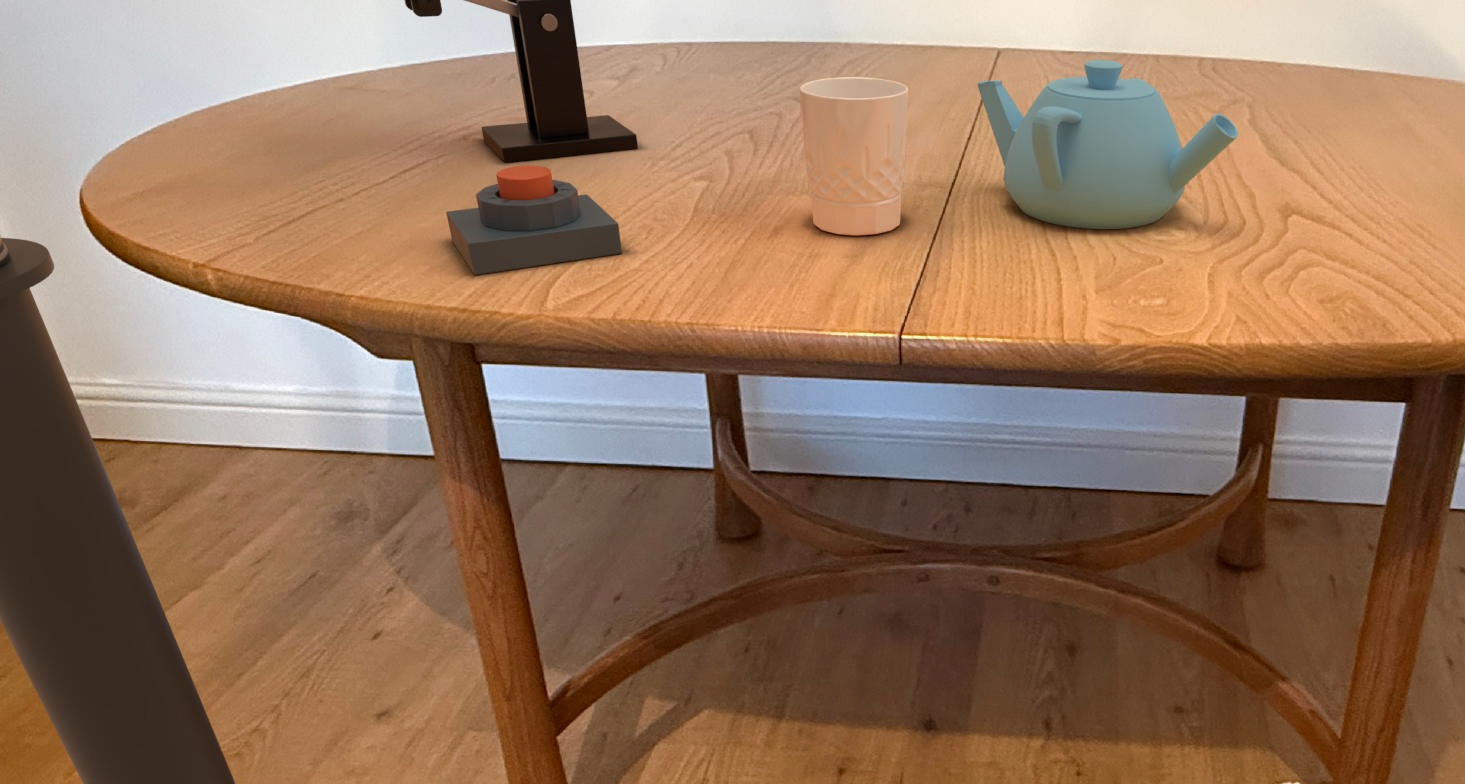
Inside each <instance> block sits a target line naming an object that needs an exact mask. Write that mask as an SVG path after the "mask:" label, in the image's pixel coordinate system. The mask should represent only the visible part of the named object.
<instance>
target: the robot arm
mask: <svg viewBox="0 0 1465 784" xmlns="http://www.w3.org/2000/svg"><path fill="white" fill-rule="evenodd" d="M404 4H405V6H406V8H407V9H409V10H410V11H412V12H413V13H414V15H415V16H417V17H419V18H426V17H428V18H429V17H440V16H441V15H442V13H443V6H442V2H441V0H404ZM1 238H2V237H1V236H0V267H1V266H3V265H4V264H6V263H7V262H8V261H9V259H10V254H9V252H8V249H7V247H6V245H5V244H4V243H3V242H2V240H1Z"/></svg>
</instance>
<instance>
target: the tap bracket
mask: <svg viewBox="0 0 1465 784" xmlns="http://www.w3.org/2000/svg"><path fill="white" fill-rule="evenodd" d="M507 1H510V2H513V3H516V4H517V9H518V15H519V17H516V16H512V15H509V14H508V16H509V21H510V27H511V33H512V40H513V46H514V51H515V52H514V53H515V57H516V64H517V69H518V76H519V82H520V89H521V95H522V101H523V105H524V111H525V118H526V122H518V123H508V124H498V125H497V124H496V125H485V126H481V133H482V134H481V135H482V139H483V141H484V143H486V145H487V146H488V147H489V148H490V149H491V150H492V151H493V152H494V153H495V154H496V155H497V156H498V157H499V158H500V159H501V161H503V162H504V163H506V164H507V163H515V162H516V163H517V162H526V161H533V160H535V161H536V160H543V159H552V158H554V159H555V158H563V157H571V156H572V157H573V156H582V155H590V154H591V155H592V154H599V153H601V154H602V153H607V152H618V151H627V150H637V149H639V145H638V137H637V134H636V133H635V132H633V131H632V130H631V129H630V128H627V126H625V125H623V124H622V123H620V122H619V121H617V119H614V117H612V116H611V115H609V114H605V115H596V116H595V115H592V116H588V115H587V107H586V102H585V101H586V99H585V93H584V87H583V80H582V72H581V65H580V58H579V50H578V44H577V43H578V42H577V36H576V30H575V23H574V22H575V21H574V15H573V7H572V2H571V1H572V0H507Z"/></svg>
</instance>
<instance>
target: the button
mask: <svg viewBox="0 0 1465 784" xmlns="http://www.w3.org/2000/svg"><path fill="white" fill-rule="evenodd" d="M495 176H496V182H497V184H498V187H499V193H500V198H502V199H506V200H533V199H541V198H545V197H549V196H552V195H555V193H554V187H553V180H554V179H553V174H552V171H551V169H550V168H548V167H545V166H541V165H515V166H510V167H506V168H502V169H500V170H499V171H497V172H496V174H495Z"/></svg>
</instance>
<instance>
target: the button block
mask: <svg viewBox="0 0 1465 784" xmlns="http://www.w3.org/2000/svg"><path fill="white" fill-rule="evenodd" d="M552 180H553V187H554V193H555V195H552V196H549V197H545V198H541V199H533V200H506V199H502V198H500V193H499V187H498V183H495V184H492V185H488V186H485V187H483V188H482V189H481V190H479V191H478V192H477V193H476V194H475V198H476V203H477V207H472V208H466V209H456V210H448V211H446V218H447V222H448V227H449V230H450V231H449V233H450V237H451V242H452V243H453V244H454V246H455V248H456V249H457V251H458V252H459V254H460V255H461V257H462V258H463V260H464V262H465V263H466V264H467V266H468V267H469V269H470V270H471V272H472V273H473V275H474V276H478V275H484V274H491V273H500V272H506V271H513V270H519V269H524V268H532V267H539V266H545V265H553V264H559V263H560V264H561V263H566V262H573V261H579V260H587V259H594V258H599V257H606V256H614V255H621V254H623V249H622V242H621V233H620V226H619V222H618V221H616V219H614V218H613V217H612V216H611V215H610V214H609V213H608V212H607V211H606V210H604V208H602V207H601V206H600V205H599V204H598V203H597V202H596V201H595V200H594V199H592V197H591V196H589V194H586V193H585V194H579V193H578V188H576V187H575V186H574V184H572V183H570V182H568V181H567V182H566V181H562V180H557V179H552Z"/></svg>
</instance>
